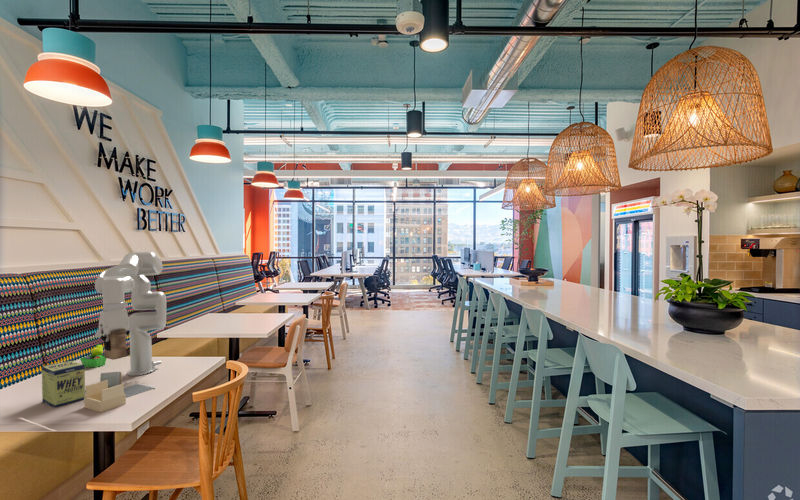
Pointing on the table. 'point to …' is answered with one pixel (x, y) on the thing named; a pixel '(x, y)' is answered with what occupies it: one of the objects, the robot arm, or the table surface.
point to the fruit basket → (94, 358)
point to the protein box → (63, 383)
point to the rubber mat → (135, 389)
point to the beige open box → (104, 396)
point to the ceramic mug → (111, 378)
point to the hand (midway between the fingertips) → (115, 348)
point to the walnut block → (117, 345)
